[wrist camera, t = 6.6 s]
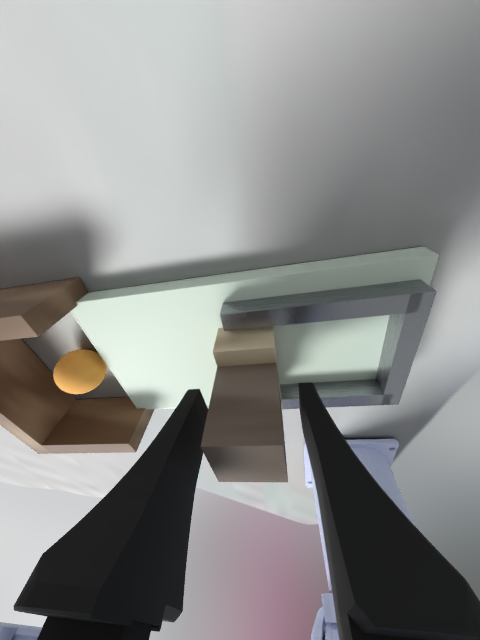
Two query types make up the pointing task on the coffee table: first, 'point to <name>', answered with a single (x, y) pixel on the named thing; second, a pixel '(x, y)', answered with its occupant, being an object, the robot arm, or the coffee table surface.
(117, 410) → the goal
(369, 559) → the robot arm
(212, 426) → the block
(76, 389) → the ball
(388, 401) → the rail
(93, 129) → the coffee table surface
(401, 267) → the plate
